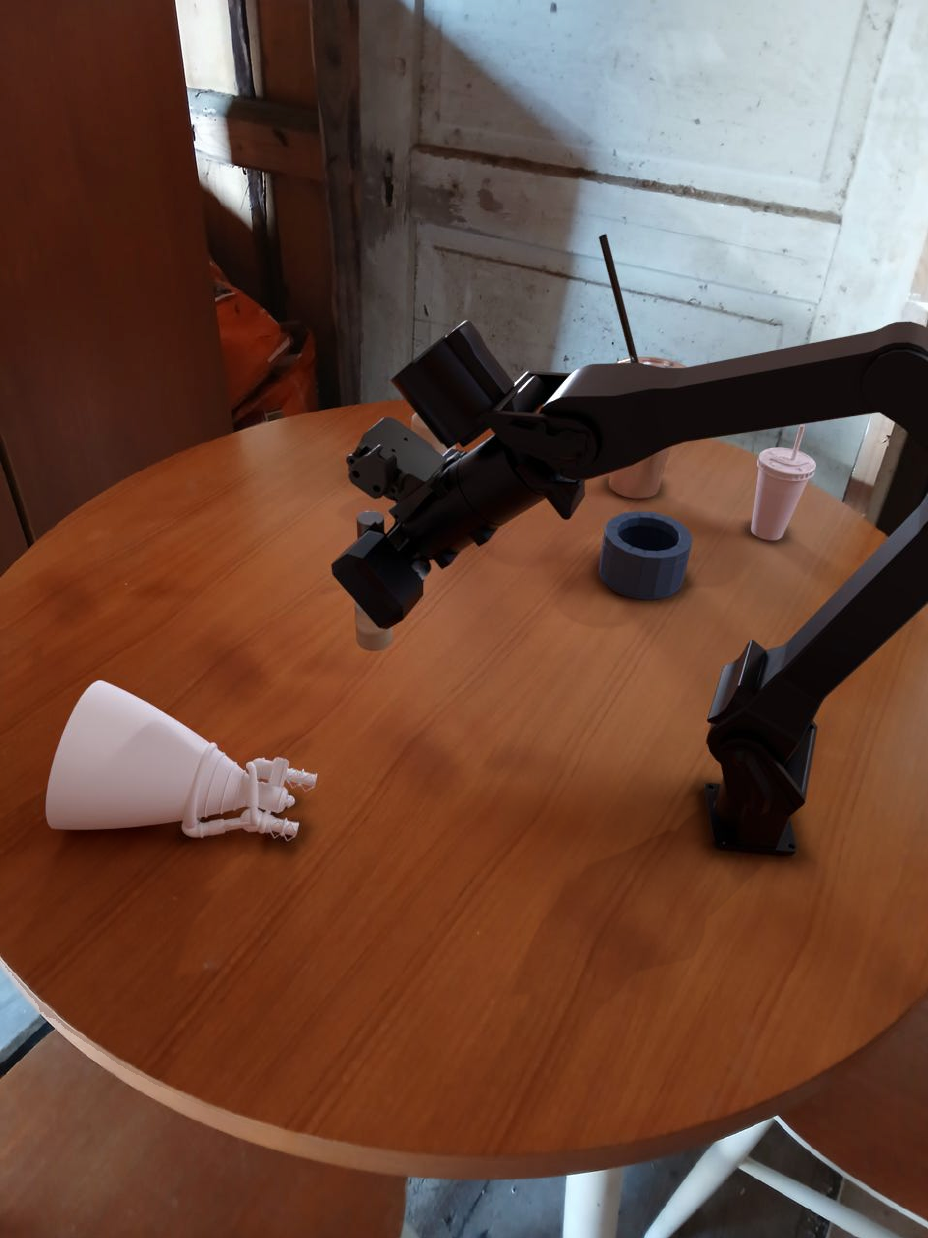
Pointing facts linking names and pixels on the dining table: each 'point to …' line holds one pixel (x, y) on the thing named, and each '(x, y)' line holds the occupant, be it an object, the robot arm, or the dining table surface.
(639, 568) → the jar
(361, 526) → the pestle
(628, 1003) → the dining table surface
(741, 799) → the robot arm
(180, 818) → the rocket engine
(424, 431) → the candle
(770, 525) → the smoothie
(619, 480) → the glass
